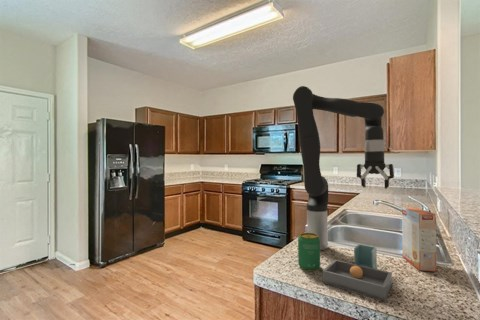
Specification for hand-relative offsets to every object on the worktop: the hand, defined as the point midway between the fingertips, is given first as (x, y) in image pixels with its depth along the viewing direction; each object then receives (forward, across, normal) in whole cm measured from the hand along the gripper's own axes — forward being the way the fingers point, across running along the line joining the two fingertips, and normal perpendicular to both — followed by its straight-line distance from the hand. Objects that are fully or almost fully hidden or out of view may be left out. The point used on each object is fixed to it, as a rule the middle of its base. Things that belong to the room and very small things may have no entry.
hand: (374, 187), depth 110 cm
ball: (+25, 0, -33) cm, 42 cm away
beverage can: (+28, -17, -32) cm, 46 cm away
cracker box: (+28, +16, -4) cm, 33 cm away
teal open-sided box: (+28, +1, -23) cm, 37 cm away
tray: (+28, +1, -35) cm, 45 cm away
